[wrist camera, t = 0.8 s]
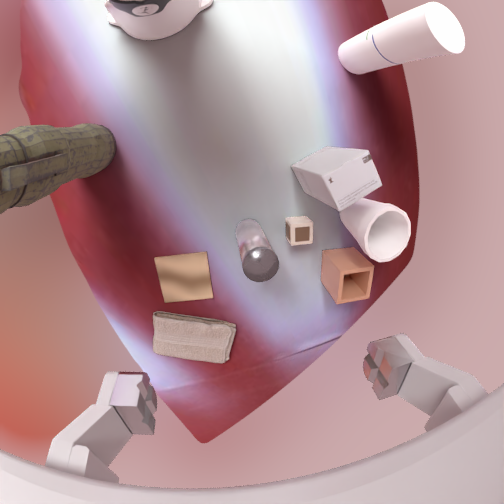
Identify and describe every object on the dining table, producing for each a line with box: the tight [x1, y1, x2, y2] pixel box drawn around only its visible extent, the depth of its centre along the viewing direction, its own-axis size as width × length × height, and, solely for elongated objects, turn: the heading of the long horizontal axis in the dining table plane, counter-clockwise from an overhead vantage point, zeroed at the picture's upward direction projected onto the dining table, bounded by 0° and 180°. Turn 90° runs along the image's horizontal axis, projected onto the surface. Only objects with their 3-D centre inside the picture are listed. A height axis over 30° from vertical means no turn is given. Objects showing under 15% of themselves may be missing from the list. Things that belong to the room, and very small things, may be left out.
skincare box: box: [291, 146, 382, 212], centre depth 42 cm, size 8×6×15 cm
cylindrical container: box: [338, 2, 465, 74], centre depth 29 cm, size 7×7×25 cm
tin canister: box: [235, 219, 279, 282], centre depth 45 cm, size 5×5×14 cm
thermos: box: [0, 124, 116, 214], centre depth 25 cm, size 9×12×35 cm
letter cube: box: [286, 216, 313, 246], centre depth 51 cm, size 4×4×4 cm
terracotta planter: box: [321, 247, 374, 304], centre depth 53 cm, size 7×7×9 cm
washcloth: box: [153, 311, 236, 363], centre depth 59 cm, size 12×18×3 cm, turn 78°
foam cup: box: [339, 198, 411, 262], centre depth 47 cm, size 10×9×13 cm
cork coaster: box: [154, 251, 213, 303], centre depth 54 cm, size 10×10×1 cm
